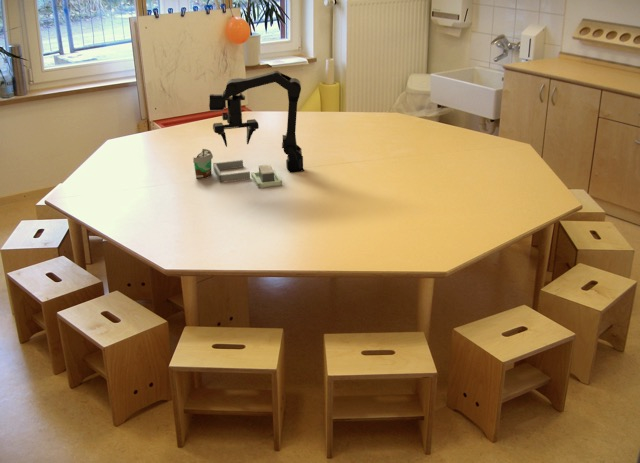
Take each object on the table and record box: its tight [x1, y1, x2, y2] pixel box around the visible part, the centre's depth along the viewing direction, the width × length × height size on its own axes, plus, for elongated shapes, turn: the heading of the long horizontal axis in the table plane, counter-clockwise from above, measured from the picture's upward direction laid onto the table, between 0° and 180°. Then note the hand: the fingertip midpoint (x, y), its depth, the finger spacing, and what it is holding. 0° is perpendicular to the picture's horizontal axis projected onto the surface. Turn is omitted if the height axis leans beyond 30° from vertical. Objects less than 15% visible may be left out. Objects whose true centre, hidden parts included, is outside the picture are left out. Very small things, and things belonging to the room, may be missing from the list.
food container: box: [192, 148, 214, 180], centre depth 326 cm, size 12×6×10 cm, turn 168°
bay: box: [212, 159, 251, 183], centre depth 329 cm, size 13×16×3 cm
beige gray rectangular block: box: [258, 164, 274, 183], centre depth 320 cm, size 5×9×5 cm, turn 13°
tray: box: [250, 169, 283, 189], centre depth 321 cm, size 10×14×2 cm
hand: (236, 145), depth 327 cm, fingers open, 9 cm apart
